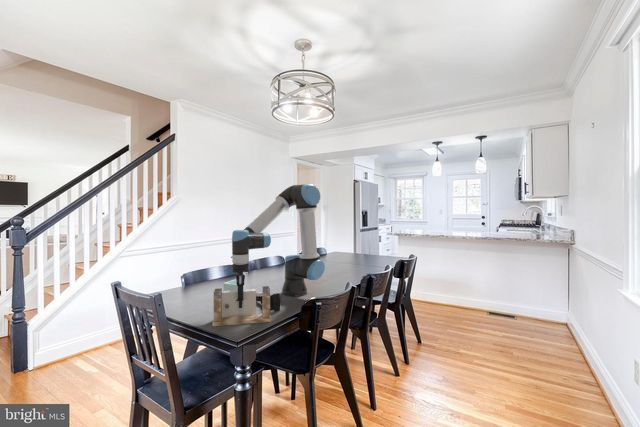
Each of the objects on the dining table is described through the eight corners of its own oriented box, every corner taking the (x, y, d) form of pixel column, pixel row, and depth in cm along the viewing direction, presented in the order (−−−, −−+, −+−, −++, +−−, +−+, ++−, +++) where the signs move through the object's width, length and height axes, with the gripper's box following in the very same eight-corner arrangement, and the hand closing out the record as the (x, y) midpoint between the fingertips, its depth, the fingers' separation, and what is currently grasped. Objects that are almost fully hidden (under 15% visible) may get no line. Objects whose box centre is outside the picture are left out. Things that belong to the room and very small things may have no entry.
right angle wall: (240, 298, 176) (240, 285, 176) (223, 295, 181) (223, 283, 181) (252, 293, 187) (252, 280, 187) (236, 290, 192) (236, 278, 192)
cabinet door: (262, 313, 148) (262, 288, 148) (262, 316, 144) (262, 291, 144) (214, 317, 143) (214, 291, 143) (213, 320, 139) (212, 294, 139)
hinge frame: (270, 317, 144) (270, 285, 144) (271, 321, 138) (271, 289, 138) (213, 321, 138) (213, 288, 138) (212, 326, 132) (212, 292, 132)
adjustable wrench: (255, 309, 171) (281, 310, 153) (251, 310, 169) (277, 311, 151) (253, 293, 172) (279, 293, 154) (249, 294, 170) (275, 294, 152)
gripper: (232, 260, 151) (233, 307, 152) (231, 266, 135) (231, 319, 135) (248, 259, 153) (248, 306, 153) (248, 266, 137) (249, 318, 137)
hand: (240, 312), depth 144 cm, fingers closed on cabinet door, 3 cm apart
